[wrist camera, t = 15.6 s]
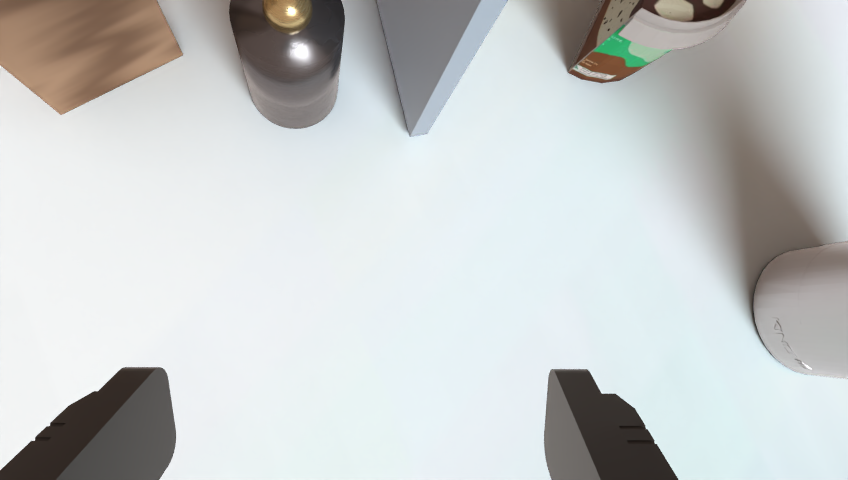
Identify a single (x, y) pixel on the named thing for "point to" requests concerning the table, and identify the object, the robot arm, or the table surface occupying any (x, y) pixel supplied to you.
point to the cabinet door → (433, 50)
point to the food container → (646, 34)
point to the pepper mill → (290, 56)
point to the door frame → (82, 46)
